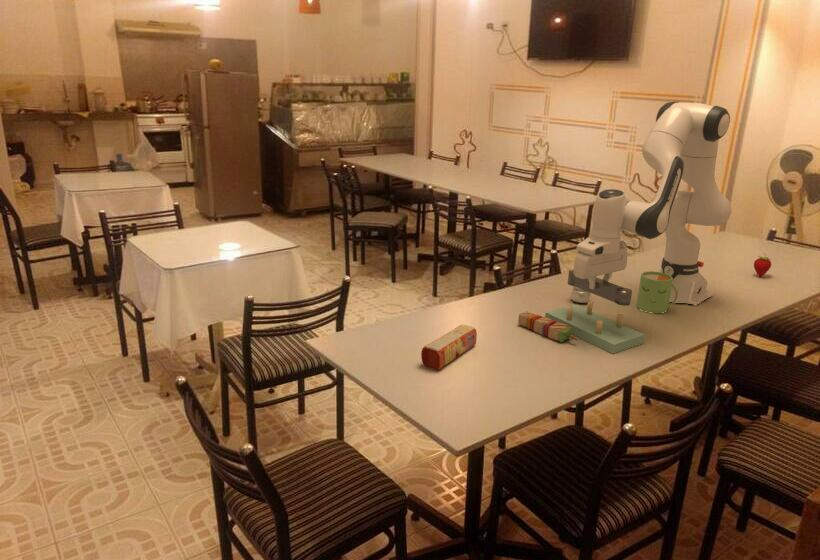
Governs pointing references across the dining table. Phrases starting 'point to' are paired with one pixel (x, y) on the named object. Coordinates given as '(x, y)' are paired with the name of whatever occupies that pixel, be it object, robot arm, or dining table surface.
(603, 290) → the long charcoal rail
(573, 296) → the plastic bottle
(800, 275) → the dining table surface
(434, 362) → the snack package
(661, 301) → the mug
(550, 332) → the skewer
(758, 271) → the strawberry
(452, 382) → the dining table surface
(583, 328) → the peg rack
